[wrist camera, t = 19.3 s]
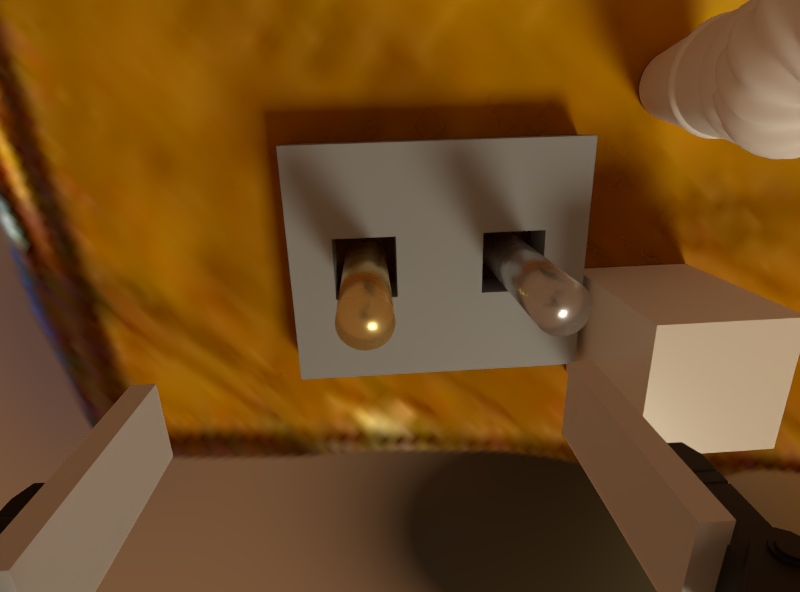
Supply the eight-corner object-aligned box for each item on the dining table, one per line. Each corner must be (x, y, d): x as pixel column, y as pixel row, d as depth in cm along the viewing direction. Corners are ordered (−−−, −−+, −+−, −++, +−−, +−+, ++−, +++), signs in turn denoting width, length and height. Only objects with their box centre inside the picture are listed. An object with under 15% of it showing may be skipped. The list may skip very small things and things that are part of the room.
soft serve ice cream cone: (601, 34, 31) (817, -49, 16) (728, -2, 31) (1065, -121, 16) (615, 163, 34) (811, 193, 19) (732, 131, 34) (1022, 135, 19)
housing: (575, 268, 37) (657, 325, 26) (685, 263, 37) (809, 317, 27) (565, 370, 40) (636, 457, 29) (668, 364, 40) (773, 448, 30)
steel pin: (481, 231, 35) (536, 282, 24) (522, 230, 35) (595, 279, 24) (480, 271, 36) (532, 338, 25) (520, 269, 36) (589, 335, 25)
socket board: (283, 144, 32) (276, 146, 30) (578, 134, 33) (597, 135, 31) (306, 360, 38) (301, 379, 35) (559, 346, 39) (574, 363, 36)
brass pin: (343, 240, 35) (332, 295, 24) (385, 238, 35) (394, 293, 24) (346, 280, 36) (336, 352, 25) (386, 278, 36) (396, 348, 25)
